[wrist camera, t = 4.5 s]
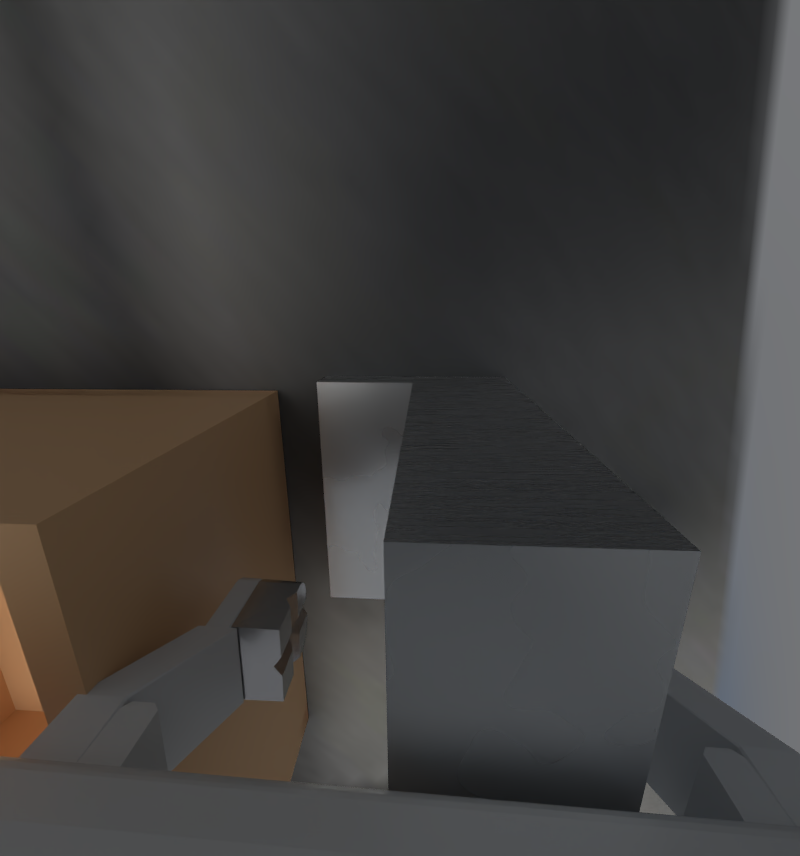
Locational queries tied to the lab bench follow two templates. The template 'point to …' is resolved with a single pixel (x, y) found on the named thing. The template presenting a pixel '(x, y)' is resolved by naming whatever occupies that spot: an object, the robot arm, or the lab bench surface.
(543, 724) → the aluminium bracket
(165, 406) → the open box
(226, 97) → the lab bench surface
